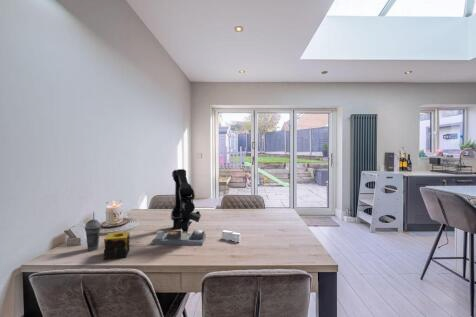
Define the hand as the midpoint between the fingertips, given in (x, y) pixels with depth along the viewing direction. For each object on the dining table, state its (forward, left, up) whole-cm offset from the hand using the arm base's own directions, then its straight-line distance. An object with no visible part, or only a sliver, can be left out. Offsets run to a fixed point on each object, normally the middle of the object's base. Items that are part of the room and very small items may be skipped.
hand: (185, 235), depth 141 cm
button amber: (-1, -7, -1) cm, 7 cm away
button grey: (-1, +7, 0) cm, 7 cm away
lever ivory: (+3, 0, -1) cm, 3 cm away
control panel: (-1, -4, -4) cm, 5 cm away
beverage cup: (+14, -46, -4) cm, 48 cm away
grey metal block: (+3, -14, -1) cm, 14 cm away
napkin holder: (-2, +26, -4) cm, 27 cm away
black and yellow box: (+20, -30, -4) cm, 36 cm away
